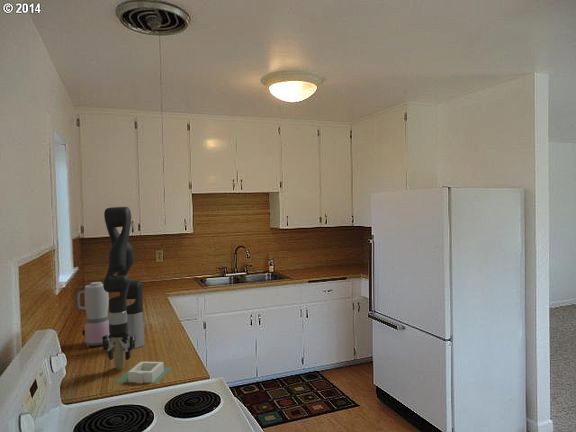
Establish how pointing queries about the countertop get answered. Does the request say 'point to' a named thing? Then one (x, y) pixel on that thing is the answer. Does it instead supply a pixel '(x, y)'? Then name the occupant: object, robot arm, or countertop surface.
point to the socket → (146, 372)
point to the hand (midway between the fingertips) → (119, 359)
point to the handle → (118, 353)
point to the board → (125, 379)
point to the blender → (95, 313)
